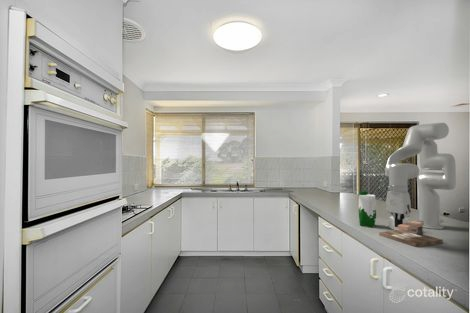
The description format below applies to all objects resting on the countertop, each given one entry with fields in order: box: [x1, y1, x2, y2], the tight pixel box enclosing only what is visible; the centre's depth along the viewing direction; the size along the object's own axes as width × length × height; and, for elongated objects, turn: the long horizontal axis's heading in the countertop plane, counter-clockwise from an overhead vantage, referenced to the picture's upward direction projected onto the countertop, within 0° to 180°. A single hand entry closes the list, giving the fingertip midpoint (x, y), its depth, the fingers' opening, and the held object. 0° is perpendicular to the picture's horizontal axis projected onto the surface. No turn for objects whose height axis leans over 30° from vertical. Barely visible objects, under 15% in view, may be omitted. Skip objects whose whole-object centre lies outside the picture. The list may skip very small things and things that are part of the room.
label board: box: [378, 226, 444, 248], centre depth 120 cm, size 18×18×6 cm
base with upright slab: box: [388, 215, 409, 231], centre depth 138 cm, size 9×9×12 cm
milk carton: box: [358, 190, 377, 228], centre depth 145 cm, size 9×9×20 cm
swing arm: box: [398, 220, 424, 231], centre depth 118 cm, size 19×4×2 cm, turn 122°
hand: (398, 227), depth 119 cm, fingers closed
